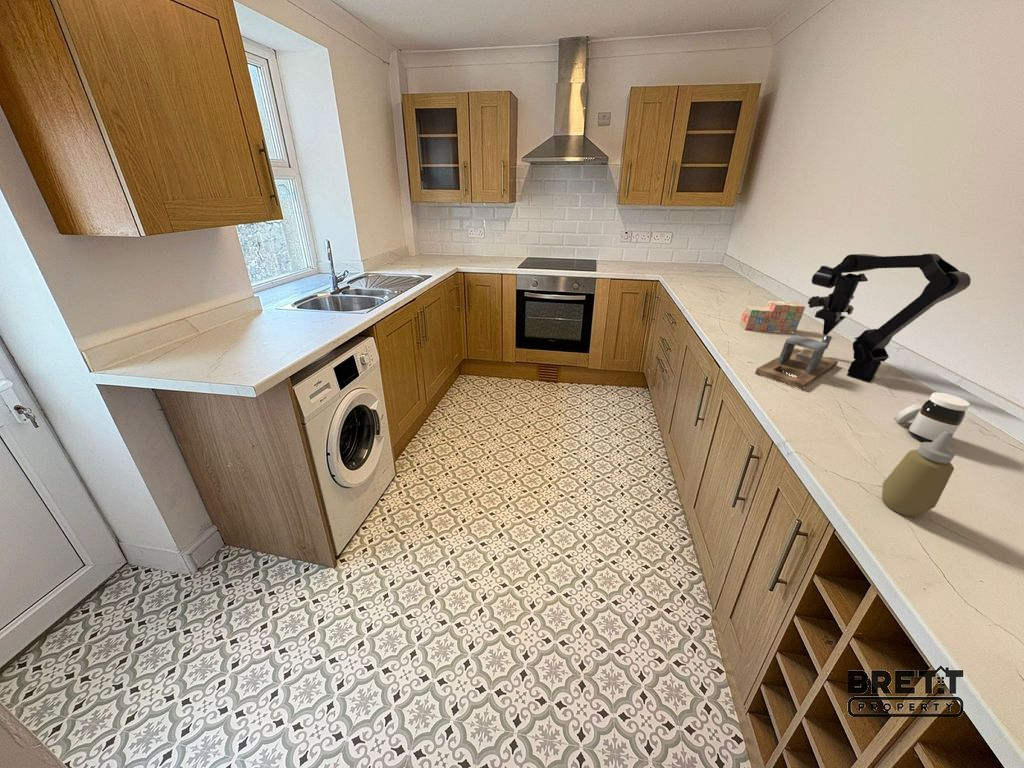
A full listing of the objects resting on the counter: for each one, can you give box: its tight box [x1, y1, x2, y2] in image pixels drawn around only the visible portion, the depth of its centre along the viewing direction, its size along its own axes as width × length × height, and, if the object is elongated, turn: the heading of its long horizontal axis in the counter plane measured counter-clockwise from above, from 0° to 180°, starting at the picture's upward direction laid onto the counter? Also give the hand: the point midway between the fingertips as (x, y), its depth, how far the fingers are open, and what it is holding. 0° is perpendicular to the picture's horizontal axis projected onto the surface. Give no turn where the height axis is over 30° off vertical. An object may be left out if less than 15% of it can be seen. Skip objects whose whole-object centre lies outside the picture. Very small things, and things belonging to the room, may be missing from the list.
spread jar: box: [893, 391, 971, 443], centre depth 104 cm, size 12×11×12 cm
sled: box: [795, 334, 833, 362], centre depth 145 cm, size 6×18×6 cm, turn 128°
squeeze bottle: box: [881, 431, 956, 518], centre depth 77 cm, size 8×8×18 cm
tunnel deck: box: [754, 334, 839, 390], centre depth 137 cm, size 14×32×11 cm, turn 128°
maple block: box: [801, 347, 814, 357], centre depth 142 cm, size 4×4×4 cm
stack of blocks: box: [738, 300, 806, 334], centre depth 175 cm, size 21×6×12 cm, turn 85°
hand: (824, 334), depth 145 cm, fingers closed
